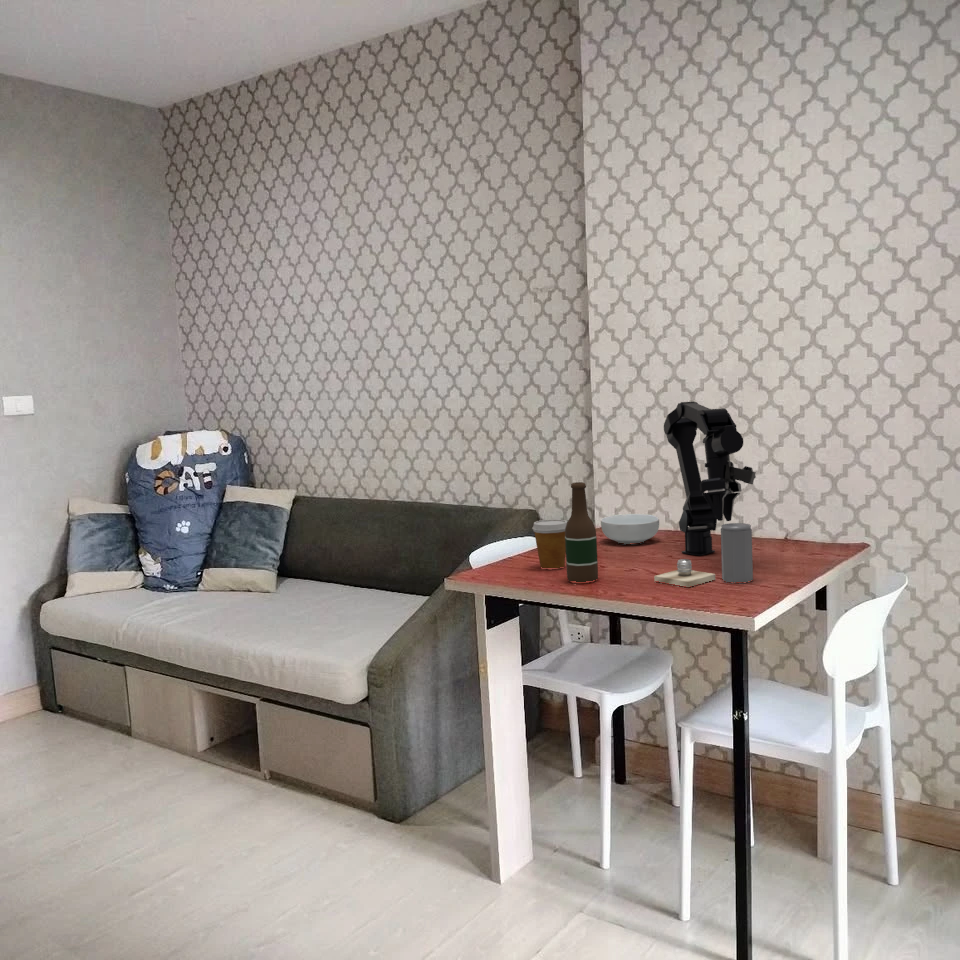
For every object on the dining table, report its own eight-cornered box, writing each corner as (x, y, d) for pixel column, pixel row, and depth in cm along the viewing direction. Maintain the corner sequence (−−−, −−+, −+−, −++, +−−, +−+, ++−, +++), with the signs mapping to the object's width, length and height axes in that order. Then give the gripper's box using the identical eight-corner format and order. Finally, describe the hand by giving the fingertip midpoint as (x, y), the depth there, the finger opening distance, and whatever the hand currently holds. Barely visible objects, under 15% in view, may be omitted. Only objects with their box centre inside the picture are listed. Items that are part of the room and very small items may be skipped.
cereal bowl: (589, 544, 277) (588, 520, 277) (625, 535, 289) (624, 512, 288) (636, 549, 265) (635, 524, 264) (671, 540, 276) (670, 516, 275)
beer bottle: (601, 577, 233) (597, 480, 230) (594, 584, 226) (590, 484, 223) (570, 576, 236) (566, 481, 233) (563, 583, 228) (558, 485, 226)
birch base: (654, 582, 225) (654, 575, 225) (681, 574, 231) (681, 568, 231) (688, 588, 217) (688, 581, 217) (715, 580, 223) (715, 574, 223)
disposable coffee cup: (575, 564, 250) (573, 519, 249) (563, 572, 241) (561, 525, 240) (542, 563, 254) (539, 519, 253) (528, 570, 245) (526, 525, 244)
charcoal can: (717, 580, 223) (715, 526, 221) (734, 575, 227) (732, 522, 225) (740, 584, 217) (739, 528, 216) (757, 579, 222) (756, 524, 220)
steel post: (674, 575, 224) (673, 560, 224) (683, 572, 226) (683, 558, 226) (685, 577, 221) (685, 562, 221) (695, 574, 224) (694, 560, 223)
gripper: (742, 451, 225) (749, 516, 223) (758, 457, 241) (765, 518, 240) (696, 457, 230) (702, 521, 228) (714, 462, 246) (721, 522, 245)
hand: (724, 520), depth 235 cm, fingers open, 9 cm apart
